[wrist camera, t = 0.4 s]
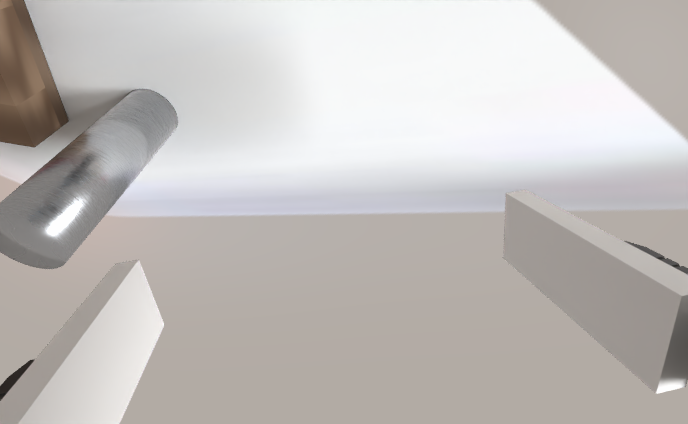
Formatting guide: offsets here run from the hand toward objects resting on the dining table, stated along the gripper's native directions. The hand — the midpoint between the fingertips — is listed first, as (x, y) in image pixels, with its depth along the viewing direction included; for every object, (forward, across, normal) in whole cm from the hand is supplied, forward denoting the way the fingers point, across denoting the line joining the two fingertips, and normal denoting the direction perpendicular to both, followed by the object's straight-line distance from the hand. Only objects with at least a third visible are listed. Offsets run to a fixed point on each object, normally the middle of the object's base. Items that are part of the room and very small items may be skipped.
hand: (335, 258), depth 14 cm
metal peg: (+20, -11, +4) cm, 24 cm away
